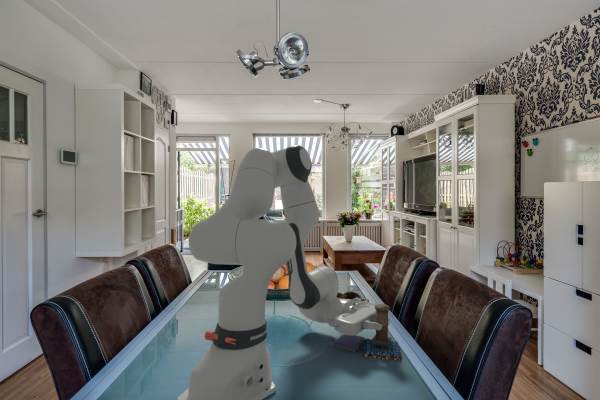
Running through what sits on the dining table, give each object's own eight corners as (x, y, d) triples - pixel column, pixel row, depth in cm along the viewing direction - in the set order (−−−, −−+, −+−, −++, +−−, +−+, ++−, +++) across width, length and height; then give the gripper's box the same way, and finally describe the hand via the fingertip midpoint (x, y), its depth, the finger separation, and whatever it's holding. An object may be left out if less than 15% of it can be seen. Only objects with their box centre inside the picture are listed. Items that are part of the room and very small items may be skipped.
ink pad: (355, 352, 97) (355, 347, 97) (332, 346, 101) (332, 342, 101) (365, 340, 105) (365, 336, 105) (343, 336, 109) (343, 332, 109)
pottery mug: (365, 309, 138) (366, 294, 133) (355, 325, 131) (356, 310, 127) (339, 297, 144) (339, 282, 139) (328, 312, 137) (328, 297, 133)
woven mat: (402, 363, 92) (402, 355, 92) (362, 359, 94) (363, 352, 94) (399, 347, 102) (399, 340, 102) (363, 343, 104) (363, 337, 104)
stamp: (387, 348, 95) (388, 309, 95) (371, 344, 97) (372, 307, 97) (391, 342, 99) (391, 305, 99) (376, 339, 101) (376, 303, 101)
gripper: (325, 312, 98) (368, 323, 90) (359, 296, 114) (399, 305, 106) (324, 334, 98) (368, 347, 90) (359, 315, 114) (398, 325, 106)
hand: (385, 324), depth 98 cm, fingers closed on stamp, 3 cm apart
